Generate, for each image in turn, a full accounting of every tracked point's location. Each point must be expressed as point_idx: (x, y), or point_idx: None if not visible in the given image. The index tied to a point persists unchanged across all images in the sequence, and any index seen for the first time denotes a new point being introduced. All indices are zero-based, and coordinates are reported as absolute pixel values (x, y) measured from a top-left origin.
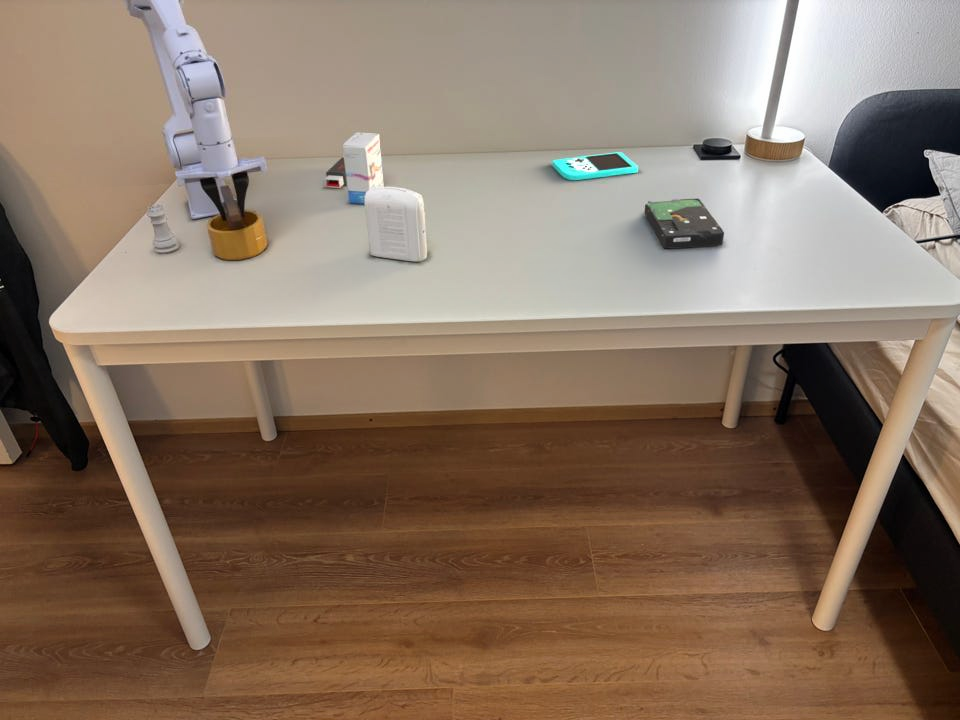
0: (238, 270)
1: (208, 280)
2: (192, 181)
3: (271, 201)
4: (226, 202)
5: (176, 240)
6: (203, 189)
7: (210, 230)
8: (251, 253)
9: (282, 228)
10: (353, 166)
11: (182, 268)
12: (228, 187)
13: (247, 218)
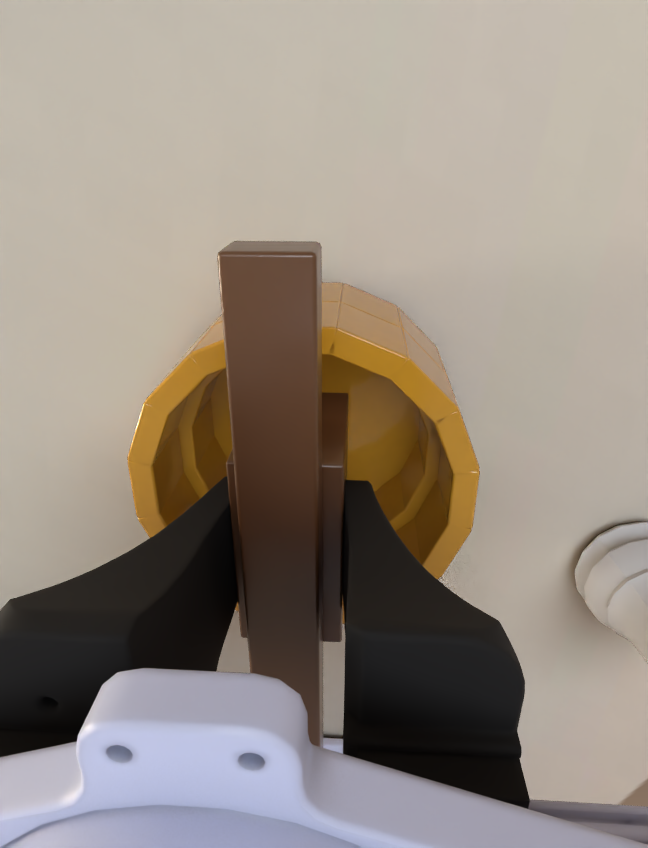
0: (364, 167)
1: (547, 113)
2: (607, 817)
3: None
4: (307, 556)
5: (599, 571)
6: (512, 647)
7: (466, 430)
8: None
9: (111, 529)
10: None
11: (631, 338)
12: None
13: None
